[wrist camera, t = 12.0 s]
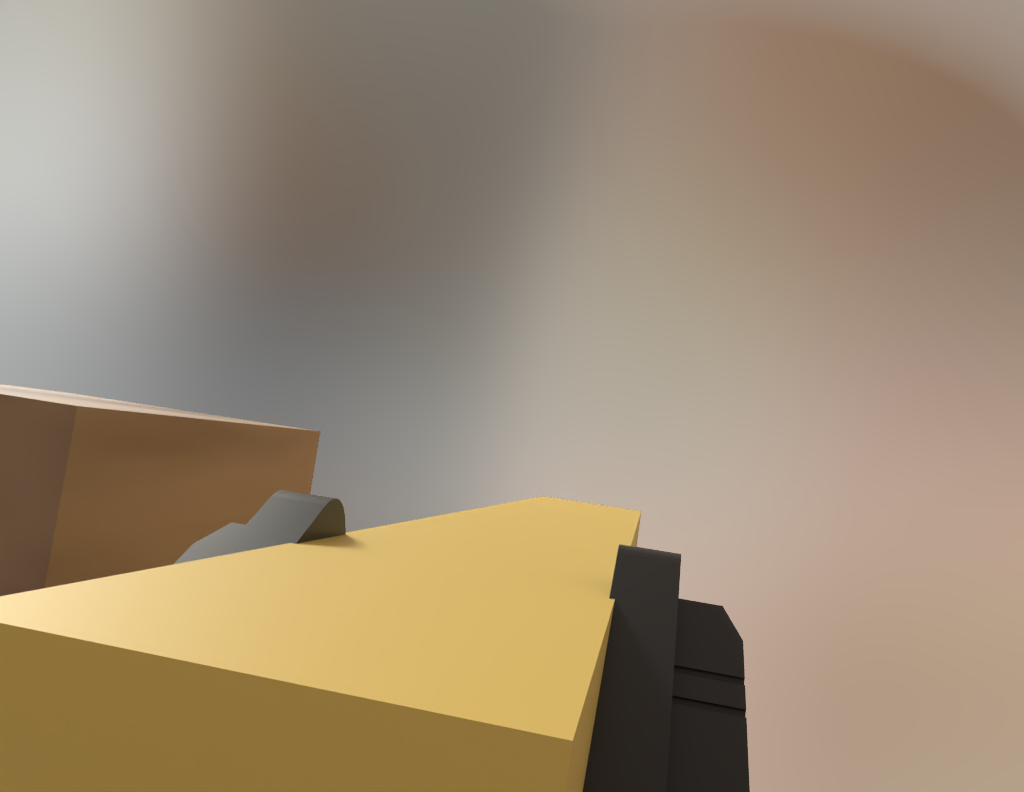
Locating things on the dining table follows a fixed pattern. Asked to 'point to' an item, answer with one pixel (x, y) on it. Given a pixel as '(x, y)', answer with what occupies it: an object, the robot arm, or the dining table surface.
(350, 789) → the bar
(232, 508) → the stand
